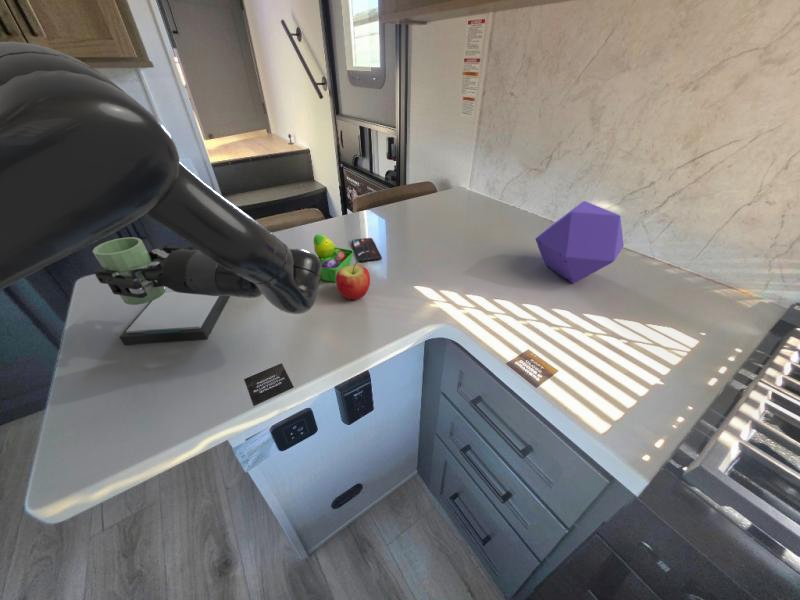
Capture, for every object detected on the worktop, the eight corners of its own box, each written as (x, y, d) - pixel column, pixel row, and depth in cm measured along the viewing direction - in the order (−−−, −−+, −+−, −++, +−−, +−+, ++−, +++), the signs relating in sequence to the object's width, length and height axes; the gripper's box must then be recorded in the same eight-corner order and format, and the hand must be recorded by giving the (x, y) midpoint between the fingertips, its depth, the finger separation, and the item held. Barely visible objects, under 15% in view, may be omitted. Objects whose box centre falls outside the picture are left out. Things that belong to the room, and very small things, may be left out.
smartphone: (359, 260, 94) (351, 239, 105) (359, 262, 94) (351, 241, 106) (382, 257, 96) (372, 237, 107) (382, 259, 96) (372, 239, 108)
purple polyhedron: (606, 300, 87) (661, 235, 79) (564, 287, 78) (620, 212, 69) (550, 262, 105) (590, 205, 96) (510, 247, 95) (550, 183, 86)
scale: (207, 339, 66) (202, 329, 65) (124, 345, 65) (117, 334, 63) (230, 296, 79) (227, 286, 78) (161, 299, 78) (157, 290, 76)
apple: (376, 299, 79) (375, 264, 73) (344, 309, 76) (340, 273, 70) (363, 283, 85) (361, 250, 79) (333, 292, 82) (328, 257, 76)
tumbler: (155, 303, 56) (127, 253, 51) (115, 306, 56) (82, 255, 50) (172, 283, 62) (149, 236, 56) (136, 285, 61) (108, 238, 55)
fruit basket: (337, 286, 84) (332, 247, 77) (308, 279, 86) (301, 242, 80) (355, 266, 93) (352, 230, 86) (328, 261, 95) (324, 225, 88)
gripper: (222, 235, 57) (140, 229, 59) (164, 275, 46) (63, 266, 48) (234, 270, 62) (157, 264, 63) (184, 316, 50) (91, 306, 52)
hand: (118, 265), depth 56 cm, fingers closed on tumbler, 6 cm apart
